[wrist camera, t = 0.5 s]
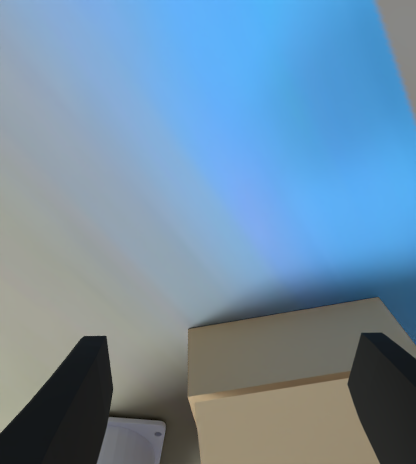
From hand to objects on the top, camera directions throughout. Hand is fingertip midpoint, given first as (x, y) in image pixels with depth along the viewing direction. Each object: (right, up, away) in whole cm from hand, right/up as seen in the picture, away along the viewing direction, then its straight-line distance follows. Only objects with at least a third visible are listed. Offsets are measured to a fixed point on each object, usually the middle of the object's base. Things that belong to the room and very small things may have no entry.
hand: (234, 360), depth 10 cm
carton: (+5, -7, +15) cm, 17 cm away
